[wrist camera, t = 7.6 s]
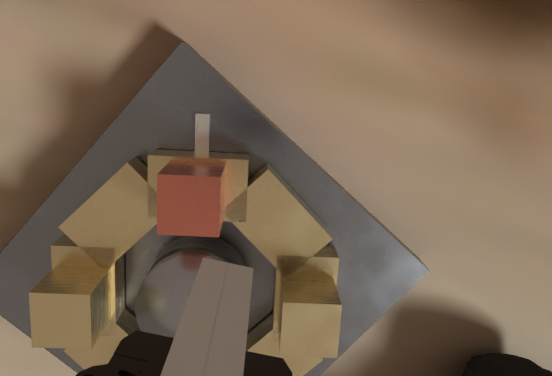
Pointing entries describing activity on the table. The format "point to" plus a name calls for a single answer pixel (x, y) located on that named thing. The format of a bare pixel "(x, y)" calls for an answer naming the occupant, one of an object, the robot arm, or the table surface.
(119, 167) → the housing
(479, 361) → the camera
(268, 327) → the octagonal wooden frame
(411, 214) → the table surface
